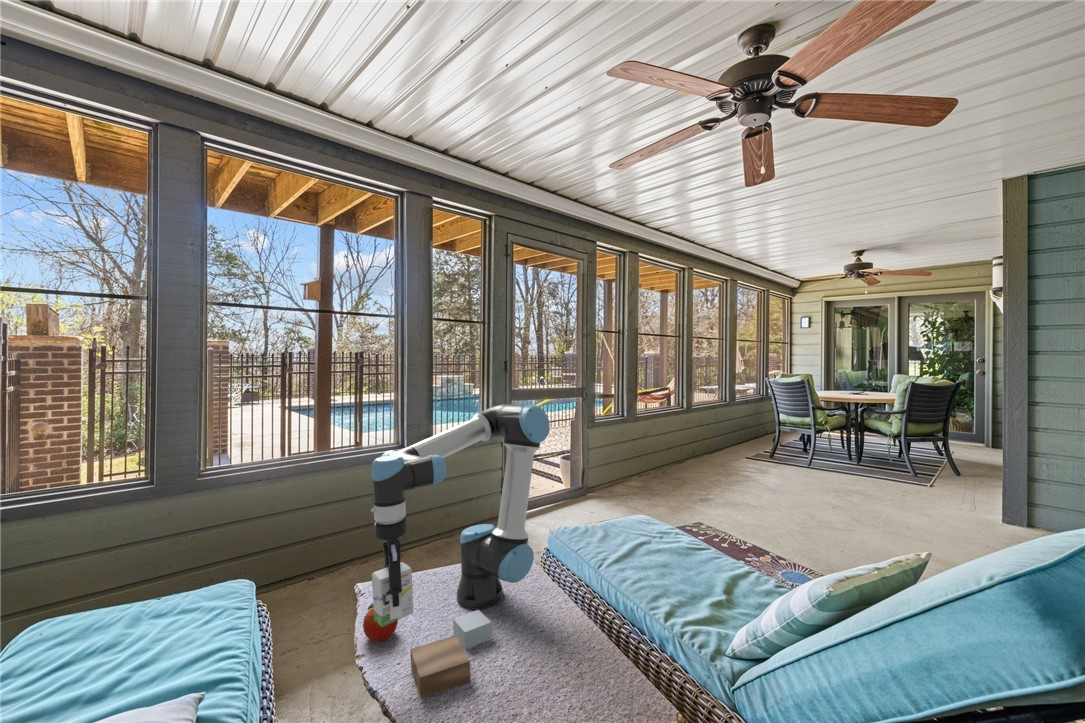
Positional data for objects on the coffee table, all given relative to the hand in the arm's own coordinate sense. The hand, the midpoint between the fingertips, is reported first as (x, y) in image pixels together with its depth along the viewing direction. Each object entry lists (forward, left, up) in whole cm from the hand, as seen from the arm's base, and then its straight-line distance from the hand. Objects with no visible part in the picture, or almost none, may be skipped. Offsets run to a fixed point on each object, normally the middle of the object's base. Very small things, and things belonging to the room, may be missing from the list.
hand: (394, 610), depth 114 cm
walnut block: (+5, +10, -16) cm, 20 cm away
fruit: (-19, -1, -17) cm, 25 cm away
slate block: (-6, +22, -17) cm, 28 cm away
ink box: (0, 0, -2) cm, 2 cm away
